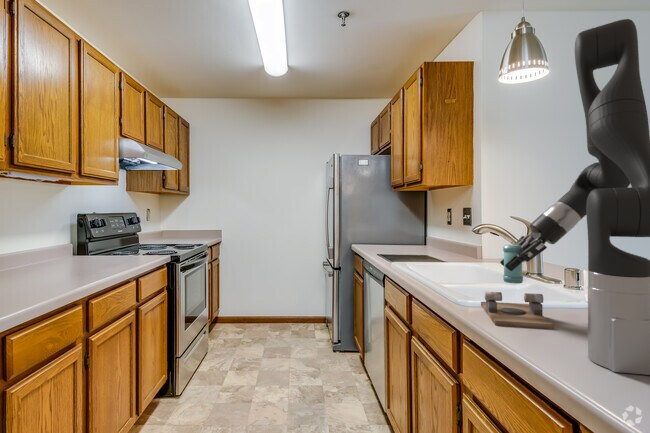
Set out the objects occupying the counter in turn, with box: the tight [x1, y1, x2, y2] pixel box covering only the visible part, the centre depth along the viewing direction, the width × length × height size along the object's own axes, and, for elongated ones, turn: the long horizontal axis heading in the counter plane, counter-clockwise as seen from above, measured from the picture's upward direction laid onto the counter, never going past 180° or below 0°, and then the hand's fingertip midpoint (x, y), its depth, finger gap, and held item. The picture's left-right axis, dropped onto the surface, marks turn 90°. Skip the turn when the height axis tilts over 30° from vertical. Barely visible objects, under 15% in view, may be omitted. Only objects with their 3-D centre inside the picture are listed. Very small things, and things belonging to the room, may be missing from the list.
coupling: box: [502, 244, 524, 285], centre depth 93 cm, size 5×5×10 cm
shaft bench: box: [480, 291, 554, 330], centre depth 93 cm, size 18×14×6 cm
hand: (505, 266), depth 94 cm, fingers closed on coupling, 4 cm apart
